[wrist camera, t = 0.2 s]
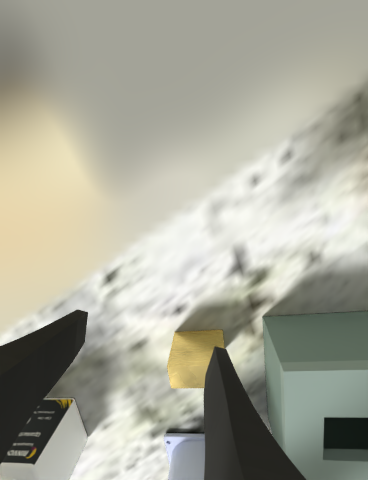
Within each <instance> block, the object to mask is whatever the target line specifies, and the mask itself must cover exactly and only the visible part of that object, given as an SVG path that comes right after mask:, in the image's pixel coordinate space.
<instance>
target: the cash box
mask: <svg viewBox="0 0 368 480" xmlns="http://www.w3.org/2000/svg"><path fill="white" fill-rule="evenodd" d="M262 318H263V336H264V354H265V372H266V390H267V408H268V419H269V423H270V427H271V431H272V435H273V437H274V439H275V440H276V441H277V443H278V444H279V446H280V447H281V448H282V450H283V451H284V452H285V454H286V455H287V456H288V458H289V459H290V460H291V461H292V463H293V464H294V465H295V466H296V468H297V469H298V470H299V471H300V472H301V474H302V475H303V476H304V477H305V478H306V480H368V311H358V312H340V313H322V314H304V315H285V316H267V317H262Z"/></svg>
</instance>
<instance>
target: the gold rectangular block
mask: <svg viewBox="0 0 368 480" xmlns="http://www.w3.org/2000/svg"><path fill="white" fill-rule="evenodd" d="M215 346H216V347H220V348H224V339H223V330H206V331H185V332H175V333H174V337H173V342H172V347H171V351H170V356H169V360H168V365H167V369H168V374H169V379H170V384H171V388H204V385H205V375H206V371H207V368H208V365H209V362H210V359H211V356H212V353H213V350H214V347H215ZM224 349H225V348H224Z"/></svg>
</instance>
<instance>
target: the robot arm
mask: <svg viewBox="0 0 368 480" xmlns="http://www.w3.org/2000/svg"><path fill="white" fill-rule="evenodd" d="M87 317H88V312H85V311H81V310H76V311H74V312H72V313H70V314H68V315H66V316H64V317H62V318H60V319H58V320H57V321H55V322H53V323H51V324H49V325H47V326H45V327H43V328H41V329H39V330H37V331H34V332H32V333H30V334H28V335H26V336H24V337H21V338H19V339H17V340H15V341H12V342H10V343H7V344H5V345H2V346H0V464H1V463H2V461H3V459H4V458H5V456H6V455H7V453H8V452H9V450H10V448H11V447H12V445H13V444H14V442H15V441H16V439H17V437H18V436H19V434H20V433H21V431H22V430H23V428H24V427H25V425H26V423H27V422H28V420H29V419H30V417H31V416H32V414H33V413H34V411H35V410H36V408H37V407H38V406H39V404H40V403H41V402H42V400H43V399H44V398H45V396H46V395H47V394H48V393H49V391H50V390H51V389H52V387H53V386H54V385H55V384H56V382H57V381H58V380H59V378H60V377H61V376H62V375H63V373H64V372H65V371H66V369H67V368H68V367H69V366H70V364H71V363H72V362H73V360H74V359H75V357H76V356H77V354H78V352H79V351H80V349H81V347H82V346H83V344H84V342H85V334H86V325H87ZM204 427H205V434H183V433H166V434H165V435H164V442H165V446H166V451H167V455H168V460H169V464H170V468H169V475H168V480H306V478H305V477H304V476H303V475H302V474H301V472H300V471H299V470H298V469H297V468H296V466H295V465H294V464H293V463H292V461H291V460H290V459H289V458H288V456H287V455H286V454H285V452H284V451H283V450H282V448H281V447H280V446H279V444H278V443H277V441H276V440H275V439H274V437H273V436H272V435H271V433H270V432H269V430H268V429H267V427H266V426H265V424H264V423H263V421H262V419H261V418H260V416H259V415H258V413H257V411H256V410H255V408H254V406H253V404H252V403H251V401H250V399H249V397H248V395H247V393H246V391H245V390H244V388H243V386H242V384H241V382H240V379H239V377H238V375H237V373H236V371H235V369H234V367H233V364H232V362H231V360H230V357H229V355H228V352H227V350H226V349H224V348H220V347H216V346H215V347H214V350H213V353H212V356H211V359H210V362H209V365H208V368H207V371H206V375H205V385H204Z"/></svg>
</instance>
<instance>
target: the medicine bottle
mask: <svg viewBox="0 0 368 480" xmlns="http://www.w3.org/2000/svg"><path fill="white" fill-rule="evenodd" d="M87 440H88V437H87V434H86V431H85V428H84V425H83V422H82V419H81V417H80V414H79V411H78V408H77V405H76V402H75V399H74V398H44V399H43V400H42V402H41V403H40V404H39V406H38V407H37V408H36V410H35V411H34V413H33V414H32V416H31V417H30V419H29V420H28V422H27V423H26V425H25V427H24V428H23V430H22V431H21V433H20V434H19V436H18V437H17V439H16V441H15V442H14V444H13V445H12V447H11V448H10V450H9V452H8V453H7V455H6V456H5V458H4V459H3V461H2V463H1V464H0V480H69V479H70V477H71V475H72V473H73V471H74V468H75V466H76V464H77V462H78V460H79V458H80V455H81V453H82V451H83V449H84V447H85V445H86V442H87Z"/></svg>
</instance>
